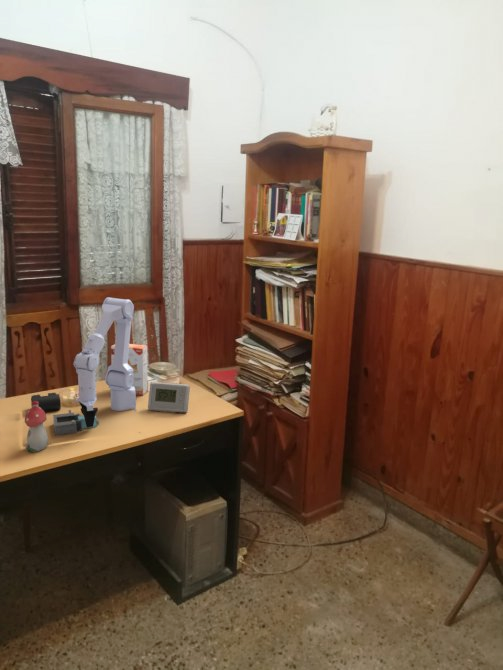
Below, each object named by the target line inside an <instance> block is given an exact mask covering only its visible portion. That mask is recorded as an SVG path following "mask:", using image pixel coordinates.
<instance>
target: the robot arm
mask: <svg viewBox="0 0 503 670" xmlns="http://www.w3.org/2000/svg"><path fill="white" fill-rule="evenodd" d="M101 311H102V314H101V317H100V319H99V322H98V325H97V326H96V330H95V332H94V333H93V334H90V335H89V337H88V339H87V340H86V342H85V345H84V346H83V348H82V351H81V352H79V353H77V354H76V356H75V358H74V361H73V367H74V368H75V372H76V374H77V380H78V383H77V384H78V397H76V398H75V402H76V403H79V405H80V412H81V414H82V415H84V418H85V423H86V426H87V427H91V428H94V427H93V424H94V419H95V415H96V416H97V412H98V411H99V409H98V407H94V405H95V403H96V401H98V400H97V399H98V398H97V390H96V388H97V387H96V385H97V383H96V369H97V368H98V366H99V362H100V361H99V360H100V353H101V352H102V349H103V348H104V346H105V343H106V341H105V336H106V334H107V333H108V331H109V330H110V328H111V326H112V325H113V323H114V322H116V330H115V341H114V344H115V352H114V363H113V364H112V363H111V364H110V365H108V367H107V371H106V374H105V377H104V381H105V383H106V385H107V386H108V389H110V409H111V410H112V411H115V412H119V411H120V412H121V411H127V410H135V412H137V399H136V398H137V395H136V392H135V388H134V387H132V385H133V383H134V375H133V369H132V368H131V367H130V366H129V365H128V353H129V344H130V341H131V340H130V339H131V330H132V329H131V327H132V321H134V320H133V319H134V311H135V305H134V304H133V302H132V301H131V299H126V298H125V299H123V298H116V297H110V296H109V297H106V298H105V299H104V300H103V303H102V305H101ZM121 371H122V372H121Z"/></svg>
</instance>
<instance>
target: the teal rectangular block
mask: <svg viewBox="0 0 503 670" xmlns="http://www.w3.org/2000/svg"><path fill="white" fill-rule="evenodd" d="M78 420H80V421H82V430H83V429H90V428H97V425H99V424H100V422H99V419H97V414H96V415H95V419H94V424H93V427H87V426H86V423H85V418H84V415H83V414H82V415H80V416H78Z"/></svg>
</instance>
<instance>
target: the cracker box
mask: <svg viewBox="0 0 503 670" xmlns="http://www.w3.org/2000/svg"><path fill="white" fill-rule="evenodd" d="M110 351H111V352H110V354H111V358H110V359H111V360H110V361H111V365H112V364H113V363H114V352H115V343H114V344H113V345H111V346H110ZM128 365H129V366H130V367H131V368H132V369H133V375H134V383H133V385H132V387H134V388H135V392H136V396H144V395H145V394H146V393H147V392H148V391H149V390H148V389H149V388H148V385H149V384H148V381H149V380H148V376H149V375H148V345H146V344H134V343H129V353H128ZM121 372H122V371H121ZM147 390H148V391H147Z"/></svg>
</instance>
